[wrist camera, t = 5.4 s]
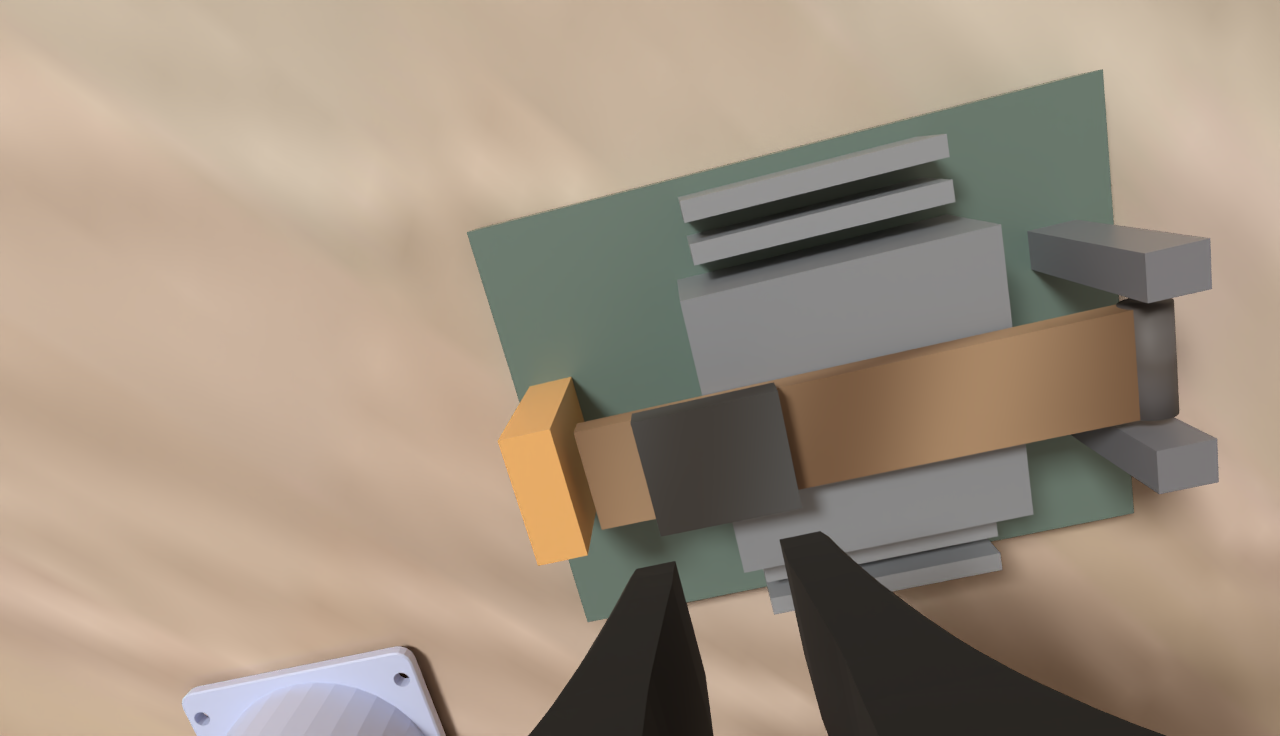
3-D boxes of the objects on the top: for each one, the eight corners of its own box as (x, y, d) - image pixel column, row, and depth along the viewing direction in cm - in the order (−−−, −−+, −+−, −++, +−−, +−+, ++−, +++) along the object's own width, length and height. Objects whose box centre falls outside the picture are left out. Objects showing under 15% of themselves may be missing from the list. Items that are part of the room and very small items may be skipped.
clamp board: (1112, 497, 21) (1266, 611, 16) (590, 602, 23) (569, 739, 17) (1079, 73, 18) (1256, 36, 13) (476, 228, 20) (406, 254, 14)
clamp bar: (1153, 286, 16) (1199, 298, 14) (1160, 405, 16) (1204, 427, 15) (576, 414, 17) (568, 437, 16) (606, 519, 18) (601, 548, 16)
